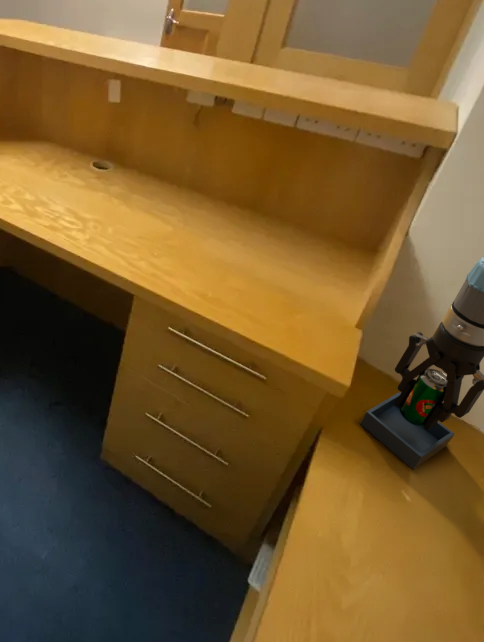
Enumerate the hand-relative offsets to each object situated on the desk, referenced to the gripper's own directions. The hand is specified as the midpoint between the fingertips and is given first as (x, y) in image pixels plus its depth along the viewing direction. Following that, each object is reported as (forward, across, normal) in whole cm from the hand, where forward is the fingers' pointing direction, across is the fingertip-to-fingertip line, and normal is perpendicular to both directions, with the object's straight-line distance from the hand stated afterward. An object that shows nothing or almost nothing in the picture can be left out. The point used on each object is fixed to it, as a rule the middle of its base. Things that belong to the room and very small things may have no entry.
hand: (414, 414), depth 102 cm
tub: (+7, 0, 0) cm, 7 cm away
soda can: (+1, 0, 0) cm, 1 cm away
